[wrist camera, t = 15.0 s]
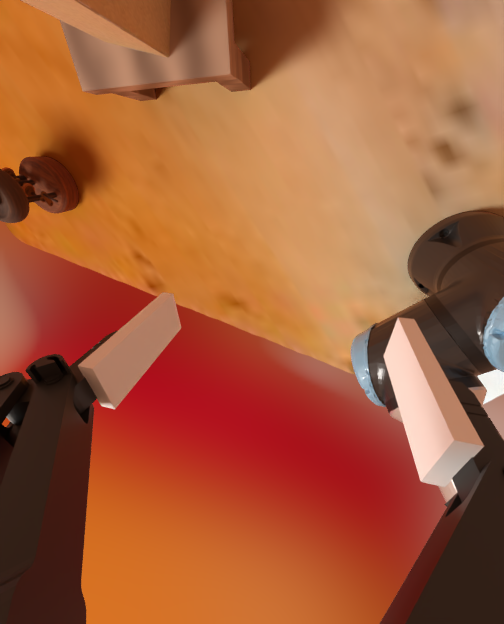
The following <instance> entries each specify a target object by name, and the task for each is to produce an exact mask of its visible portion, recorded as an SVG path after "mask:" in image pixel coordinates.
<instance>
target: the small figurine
mask: <svg viewBox="0 0 504 624" xmlns="http://www.w3.org/2000/svg"><path fill="white" fill-rule="evenodd" d="M78 200H79V195H78V189H77V186H76V184H75V181H74V179H73V178H72V176H71V175H70V173H69V172H68V171H67V169H66V168H65V167H64V166H63V165H62V164H60V163H59V162H58V161H56V160H55V159H52V158H50V157H27V158H24V159H23V160H22V161H21V163H20V167H19V176H16V175H15V173H14V171H13V170H12V169H10V168H3V169H0V221H3V222H7V223H16V222H20V221H22V220H24V219H25V218H26V217H27V215H28V213H29V202H35V203H36V204H37V205H38V206H40V207H41V208H43V209H44V210H46V211H48V212H51V213H61V212H65V211H69V210H72V209H74V208H75V207H76V206H77V204H78Z"/></svg>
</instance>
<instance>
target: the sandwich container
mask: <svg viewBox="0 0 504 624" xmlns="http://www.w3.org/2000/svg"><path fill="white" fill-rule="evenodd" d="M21 1H23V2H25V3H27V4H29V5H31V6H33V7H35V8H37V9H39V10H41V11H43V12H45V13H47V14H49V15H51V16H53V17H55V18H57V19H59V20H61V21H63V22H65V23H67V24H69V25H71V26H73V27H75V28H77V29H79V30H81V31H83V32H86V33H88V34H90V35H92V36H94V37H96V38H98V39H100V40H102V41H104V42H107V43H111V44H115V45H119V46H123V47H127V48H130V49H134V50H138V51H142V52H147V53H151V54H155V55H159V56H163V57H167V58H169V55H170V12H171V0H21Z"/></svg>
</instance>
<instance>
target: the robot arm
mask: <svg viewBox="0 0 504 624" xmlns="http://www.w3.org/2000/svg"><path fill="white" fill-rule="evenodd" d="M408 272H409V275H410V278H411V279H412V281H413V282H414V284H415V285H416V286H417V287H418V288H419V289H420V290H421V291H422V292H423V293H425V294H427V295H429V296H430V297H428V298H426V299H424V300H422V301H420V302H418V303H416V304H414V305H412V306H410V307H408V308H406V309H404V310H402V311H400V312H399V313H397V314H395V315H393V316H391V317H389V318H387V319H385V320H383V321H381V322H379V323H375V324H373V325H372V326H371V327H370V328H369V329H367V330H366V331H364V332H362V333H360V334H359V335H357V336H356V337H355V338H354V340H353V343H352V346H351V360H352V365H353V368H354V372H355V374H356V377H357V379H358V382H359V384H360V386H361V387H362V388H363V389H365V393H366V395H367V397H368V398H369V399H370V400H371V401H372V402H373V403H375V404H376V405H378V406H383V407H387V409H388V412H389V414H390V415H391V417H393V418H395V419H397V420H399V421H401V422H403V423H404V427H405V430H406V433H407V437H408V440H409V444H410V447H411V450H412V454H413V457H414V460H415V464H416V467H417V470H418V474H419V477H420V481H421V482H425V483H429V484H433V485H438V486H439V489H440V490H441V492H442V495H443V496H444V499H445V500H446V504H445V505H446V506H447V509H446V510H445V512H444V514H443V516H442V517H441V519H440V521H439V522H438V524H437V526H436V527H435V529H434V531H433V533H432V534H431V536H430V538H429V540H428V541H427V543H426V545H425V546H424V548H423V550H422V552H421V553H420V555H419V557H418V559H417V560H416V562H415V564H414V565H413V567H412V569H411V571H410V572H409V574H408V576H407V578H406V580H405V581H404V583H403V585H402V586H401V588H400V590H399V591H398V593H397V595H396V597H395V598H394V600H393V602H392V603H391V605H390V607H389V609H388V610H387V612H386V614H385V616H384V617H383V619H382V621H381V622H380V624H504V439H503V438H502V436H501V435H500V433H499V432H498V431H497V429H496V428H495V426H494V424H493V423H492V421H491V420H490V418H489V417H488V415H487V413H486V412H485V410H484V408H483V407H482V405H483V401H484V398H485V395H486V392H487V390H486V388H485V387H484V386H483V384H482V383H481V382H480V380H479V379H478V377H477V376H478V375H481V374H483V373H486V372H490V371H493V370H496V369H498V370H500V371H502V372H504V217H502V216H499V215H496V214H494V213H490V212H484V211H471V212H464V213H460V214H456V215H453V216H451V217H448V218H446V219H444V220H442V221H440V222H438V223H437V224H435V225H434V226H432V227H431V228H430V229H428V230H427V231H426V232H425V233H424V234H423V235H422V236H421V237H420V238H419V239H418V241H417V242H416V243H415V245H414V247H413V248H412V250H411V253H410V255H409V259H408ZM180 329H181V325H180V321H179V317H178V312H177V308H176V304H175V299H174V295H173V294H171V293H162V294H160V295H159V296H158V297H157V298H156V299H155V300H153V301H152V302H151V303H150V304H149V305H148V306H147V307H145V308H144V309H143V310H142V311H141V312H140V313H139V314H137V315H136V316H135V317H134V318H133V319H131V320H130V321H129V322H128V323H127V324H126V325H125V326H123V327H122V328H121V329H120V330H119V331H115V332H113V333H111V334H109V335H107V336H106V337H105V338H103V339H102V340H101V341H100V342H99V344H96V345H95V346H94V347H93V349H90V350H89V351H88V352H87V353H85V354H84V355H83V356H82V357H81V358H80V359H78V360H77V361H76V362H75V363H73V364H72V365H71V366H70V367H69V366H68V365H67V363H66V361H65V360H64V358H63V357H62V356H61V355H57V354H53V355H48V356H45V357H42V358H40V359H38V360H36V361H34V362H33V363H32V364H31V365H29V366H28V368H27V369H26V372H27V373H28V374H29V376H30V377H31V378H32V379H29V380H27V379H26V378H25V377H24V376H23V374H22V373H19V372H12V373H8V374H5V375H2V376H0V624H86V606H85V600H84V597H83V594H82V590H81V573H82V560H83V548H84V534H85V521H86V508H87V494H88V482H89V468H90V455H91V442H92V428H93V415H94V407H93V404H92V403H93V402H94V401H95V400H96V399H98V401H99V403H100V404H101V406H103V407H107V408H112V409H115V408H116V407H117V406H118V405H119V403H120V402H121V401H122V400H123V399H124V397H125V396H126V395H127V394H128V392H129V391H130V390H131V389H132V387H133V386H134V385H135V384H136V383H137V381H138V380H139V379H140V378H141V377H142V375H143V374H144V373H145V372H146V370H147V369H148V368H149V367H150V366H151V364H152V363H153V362H154V361H155V359H156V358H157V357H158V356H159V354H160V353H161V352H162V351H163V350H164V348H165V347H166V346H167V345H168V343H169V342H170V341H171V340H172V339H173V337H174V336H175V335H176V334H177V332H178V331H179V330H180ZM6 417H7V418H8V419H9V420H10V421H11V422H10V423H9V425H8V426H7V427H4V426H3V425H2V422H3V421H4V420H5V418H6Z"/></svg>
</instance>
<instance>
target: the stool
mask: <svg viewBox="0 0 504 624" xmlns="http://www.w3.org/2000/svg"><path fill="white" fill-rule="evenodd" d="M60 22H61V25H62V28H63V31H64V35H65V38H66V41H67V44H68V47H69V50H70V53H71V56H72V59H73V62H74V66H75V69H76V72H77V75H78V78H79V81H80V84H81V87H82V90H83V91H84V92H88V93H92V94H96V95H98V94H107V93H114V94H117V95H121V96H125V97H128V98H132V99H136V100H140V101H144V100H154V99H157V98H156V93H155V88H161V87H170V86H179V85H188V84H197V83H206V82H215V81H216V82H218V83H219V84H221V85H222V86H224V87H225V88H227V89H228V90H230V91H232V92H233V91H243V90H251V84H250V61H249V60H248V59H247V58H246V56H245V55H244V54H243V53H242V51H241V50H240V49H239V48H238V46H237V45H236V44H235V42H234V24H233V5H232V0H171V12H170V55H169V58H167V57H163V56H159V55H155V54H151V53H147V52H142V51H138V50H134V49H130V48H127V47H123V46H119V45H115V44H111V43H107V42H104V41H102V40H100V39H98V38H96V37H94V36H92V35H90V34H88V33H86V32H83V31H81V30H79V29H77V28H75V27H73V26H71V25H69V24H67V23H65V22H63V21H61V20H60Z"/></svg>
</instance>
